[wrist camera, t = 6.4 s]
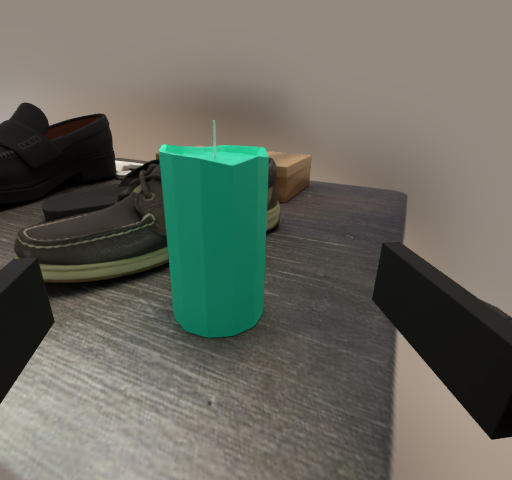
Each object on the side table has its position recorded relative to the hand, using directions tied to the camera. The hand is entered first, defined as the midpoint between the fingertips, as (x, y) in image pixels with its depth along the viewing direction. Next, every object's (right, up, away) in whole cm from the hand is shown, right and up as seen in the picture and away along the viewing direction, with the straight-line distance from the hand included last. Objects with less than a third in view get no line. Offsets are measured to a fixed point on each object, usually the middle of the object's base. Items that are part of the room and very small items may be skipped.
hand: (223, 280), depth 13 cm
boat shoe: (-7, +1, +19) cm, 20 cm away
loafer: (-30, +9, +36) cm, 48 cm away
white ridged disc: (-22, +13, +46) cm, 52 cm away
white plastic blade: (-25, +15, +52) cm, 59 cm away
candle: (-1, -3, +9) cm, 10 cm away
